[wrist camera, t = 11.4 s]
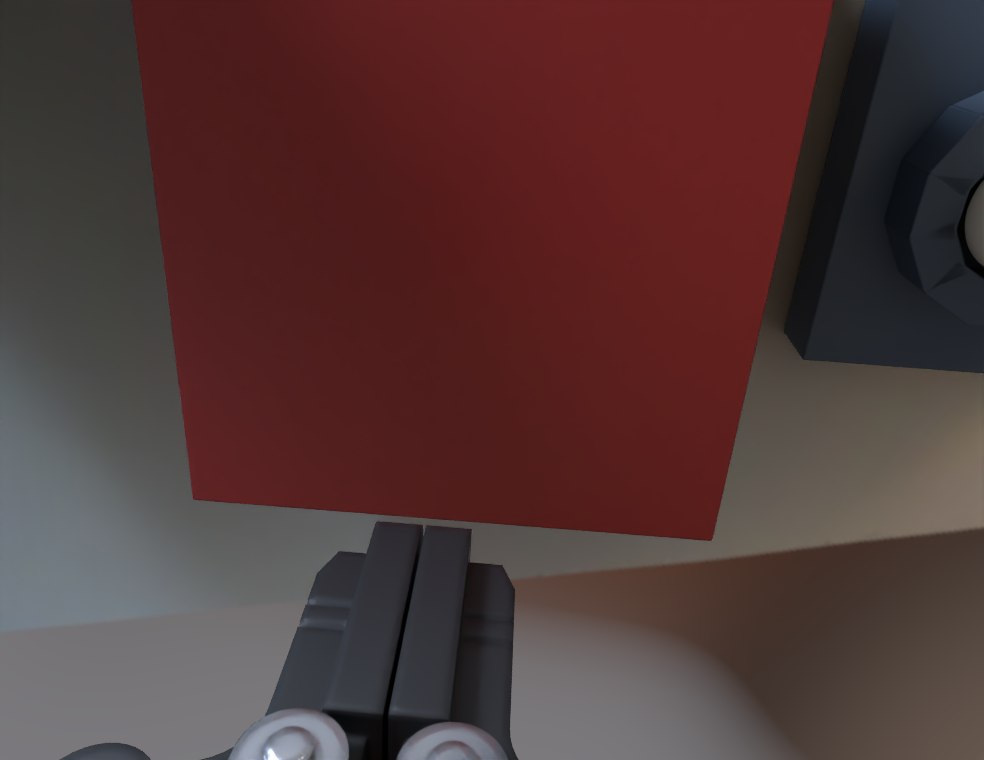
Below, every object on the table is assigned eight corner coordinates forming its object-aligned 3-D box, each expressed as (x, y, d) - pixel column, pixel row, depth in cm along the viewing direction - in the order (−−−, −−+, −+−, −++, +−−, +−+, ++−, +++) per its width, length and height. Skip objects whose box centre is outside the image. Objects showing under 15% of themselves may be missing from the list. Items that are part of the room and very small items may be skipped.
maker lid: (704, 516, 23) (712, 541, 22) (208, 477, 23) (192, 500, 22) (856, -184, 16) (879, -196, 15) (128, -230, 16) (98, -246, 15)
